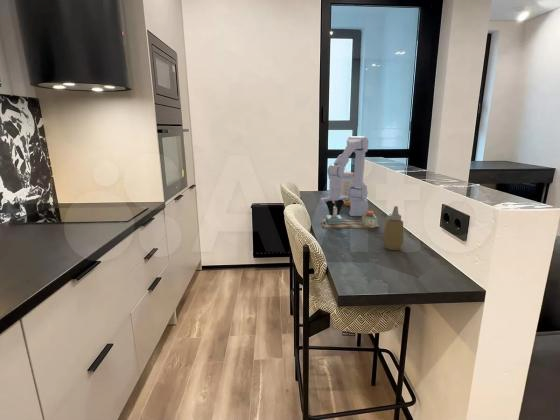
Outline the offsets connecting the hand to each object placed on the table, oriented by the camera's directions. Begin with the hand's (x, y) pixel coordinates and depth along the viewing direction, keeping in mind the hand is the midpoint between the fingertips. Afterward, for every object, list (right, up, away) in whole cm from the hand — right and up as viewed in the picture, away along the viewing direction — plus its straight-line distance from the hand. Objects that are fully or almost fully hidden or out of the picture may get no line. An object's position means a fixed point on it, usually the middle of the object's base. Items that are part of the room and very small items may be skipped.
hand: (334, 214), depth 166 cm
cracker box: (+12, +6, +43) cm, 45 cm away
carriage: (0, -4, +1) cm, 4 cm away
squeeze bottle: (+19, -14, -31) cm, 39 cm away
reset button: (+18, -3, 0) cm, 18 cm away
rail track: (+8, -5, +1) cm, 10 cm away
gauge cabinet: (+18, -5, 0) cm, 19 cm away
